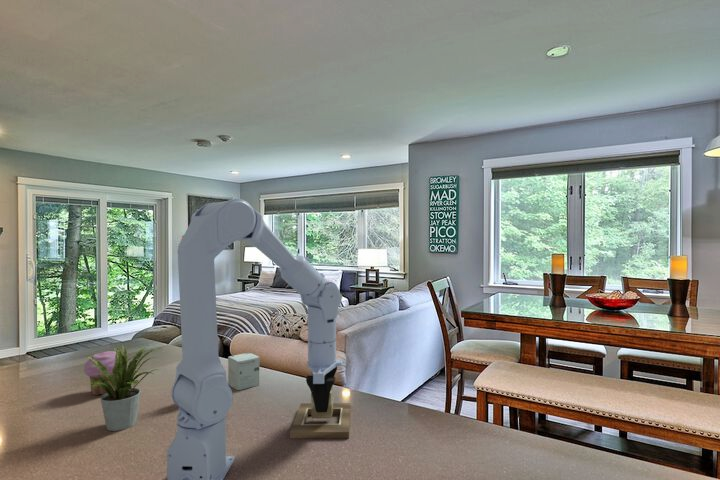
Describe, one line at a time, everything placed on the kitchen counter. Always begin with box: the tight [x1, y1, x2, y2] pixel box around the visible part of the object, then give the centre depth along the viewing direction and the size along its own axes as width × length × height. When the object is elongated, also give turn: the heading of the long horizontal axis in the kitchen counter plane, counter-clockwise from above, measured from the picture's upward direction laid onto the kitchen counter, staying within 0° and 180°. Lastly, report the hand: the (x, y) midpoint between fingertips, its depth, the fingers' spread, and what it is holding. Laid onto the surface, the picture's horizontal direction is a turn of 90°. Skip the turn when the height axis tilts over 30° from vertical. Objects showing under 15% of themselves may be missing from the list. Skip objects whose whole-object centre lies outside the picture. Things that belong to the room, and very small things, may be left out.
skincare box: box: [227, 352, 260, 391], centre depth 103 cm, size 6×6×7 cm
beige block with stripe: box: [310, 385, 334, 420], centre depth 81 cm, size 4×4×5 cm
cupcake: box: [83, 350, 116, 396], centre depth 99 cm, size 9×9×10 cm
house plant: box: [84, 342, 163, 432], centre depth 81 cm, size 14×14×16 cm
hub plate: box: [289, 402, 352, 439], centre depth 81 cm, size 13×11×1 cm
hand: (322, 406), depth 81 cm, fingers closed on beige block with stripe, 4 cm apart
